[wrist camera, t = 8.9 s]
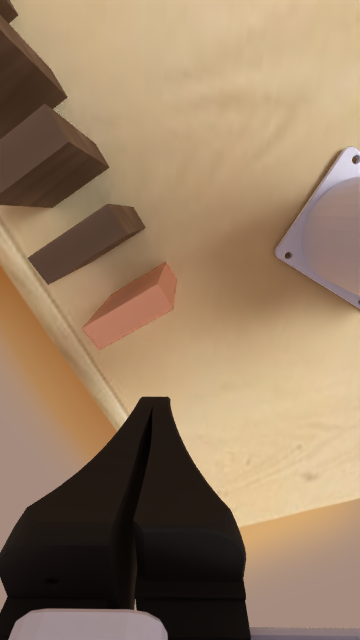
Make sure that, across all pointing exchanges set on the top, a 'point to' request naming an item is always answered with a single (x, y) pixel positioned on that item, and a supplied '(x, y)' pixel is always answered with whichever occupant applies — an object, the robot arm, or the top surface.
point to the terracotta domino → (133, 307)
